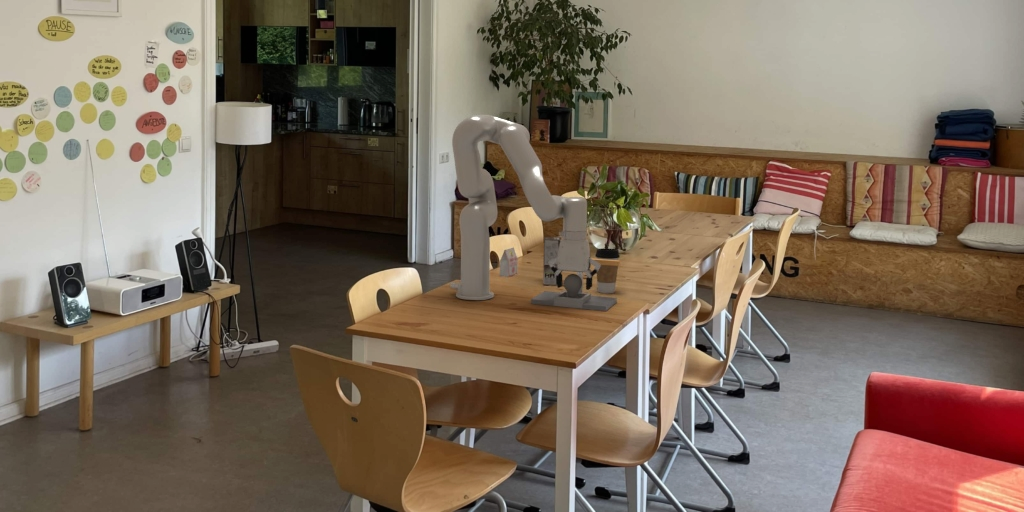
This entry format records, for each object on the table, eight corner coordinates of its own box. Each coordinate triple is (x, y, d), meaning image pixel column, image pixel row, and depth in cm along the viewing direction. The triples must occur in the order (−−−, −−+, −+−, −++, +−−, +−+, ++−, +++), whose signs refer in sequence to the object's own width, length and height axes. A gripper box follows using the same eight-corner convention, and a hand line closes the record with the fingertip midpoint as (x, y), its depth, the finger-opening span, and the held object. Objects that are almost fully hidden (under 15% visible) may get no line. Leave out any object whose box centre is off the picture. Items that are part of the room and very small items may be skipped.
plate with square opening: (530, 303, 308) (531, 266, 306) (544, 295, 321) (545, 259, 319) (605, 311, 299) (607, 273, 297) (616, 302, 312) (618, 265, 310)
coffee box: (561, 285, 338) (562, 240, 335) (543, 284, 338) (544, 240, 336) (560, 280, 347) (561, 236, 344) (542, 279, 347) (543, 236, 345)
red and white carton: (499, 276, 353) (500, 249, 351) (508, 273, 359) (509, 247, 357) (508, 277, 351) (508, 250, 349) (517, 274, 357) (517, 248, 355)
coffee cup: (600, 294, 323) (602, 251, 321) (589, 289, 331) (591, 247, 329) (622, 293, 327) (624, 250, 324) (611, 288, 334) (612, 246, 332)
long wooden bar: (618, 266, 308) (618, 261, 308) (575, 262, 313) (575, 258, 312) (620, 264, 311) (620, 260, 310) (577, 261, 315) (577, 257, 315)
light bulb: (565, 306, 305) (566, 276, 303) (561, 302, 311) (562, 272, 309) (583, 306, 306) (584, 275, 304) (578, 302, 312) (579, 272, 310)
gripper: (545, 235, 304) (545, 288, 307) (597, 238, 298) (596, 292, 301) (552, 232, 311) (552, 284, 314) (603, 235, 305) (602, 287, 308)
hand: (574, 288), depth 307 cm, fingers open, 9 cm apart
